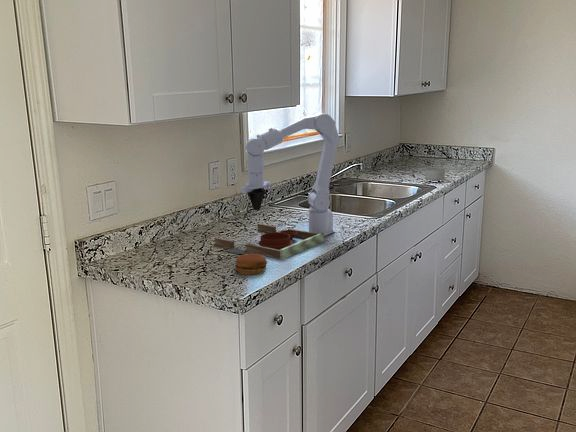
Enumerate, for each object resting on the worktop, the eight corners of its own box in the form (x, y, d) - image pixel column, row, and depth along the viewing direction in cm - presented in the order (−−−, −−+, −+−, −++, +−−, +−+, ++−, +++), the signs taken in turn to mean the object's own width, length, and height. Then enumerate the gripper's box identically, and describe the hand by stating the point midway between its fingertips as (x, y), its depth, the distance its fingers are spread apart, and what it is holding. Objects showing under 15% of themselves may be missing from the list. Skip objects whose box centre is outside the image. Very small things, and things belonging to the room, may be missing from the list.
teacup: (440, 184, 309) (441, 169, 307) (421, 182, 315) (422, 168, 313) (448, 180, 321) (449, 166, 319) (429, 179, 326) (430, 165, 324)
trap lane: (259, 229, 218) (259, 222, 217) (323, 241, 202) (324, 232, 201) (214, 245, 198) (214, 236, 197) (282, 259, 182) (282, 250, 181)
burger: (249, 278, 165) (249, 262, 164) (228, 271, 171) (228, 256, 170) (274, 270, 172) (273, 255, 171) (253, 263, 178) (252, 249, 177)
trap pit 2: (282, 230, 217) (282, 229, 217) (295, 232, 213) (295, 231, 213) (276, 232, 213) (276, 231, 213) (289, 235, 210) (289, 234, 210)
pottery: (252, 251, 191) (251, 238, 190) (277, 236, 209) (277, 225, 208) (284, 255, 186) (283, 242, 185) (307, 239, 204) (307, 227, 203)
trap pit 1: (232, 248, 194) (232, 247, 193) (246, 251, 190) (246, 250, 190) (224, 251, 190) (224, 250, 190) (238, 254, 187) (238, 253, 187)
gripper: (259, 168, 210) (260, 204, 213) (233, 174, 198) (235, 212, 201) (274, 170, 206) (275, 206, 209) (249, 175, 194) (250, 214, 198)
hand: (256, 209), depth 205 cm, fingers closed
